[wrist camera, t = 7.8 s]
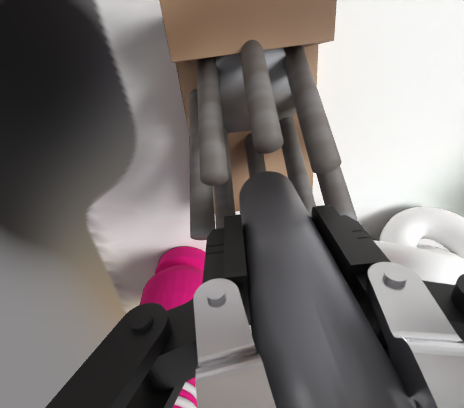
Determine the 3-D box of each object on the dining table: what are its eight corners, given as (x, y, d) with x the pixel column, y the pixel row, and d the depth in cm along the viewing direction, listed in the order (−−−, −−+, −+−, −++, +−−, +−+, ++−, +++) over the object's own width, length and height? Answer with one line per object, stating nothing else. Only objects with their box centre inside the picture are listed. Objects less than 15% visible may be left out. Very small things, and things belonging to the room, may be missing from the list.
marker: (234, 173, 13) (267, 644, 2) (297, 165, 13) (620, 629, 2) (240, 225, 14) (277, 653, 4) (296, 219, 14) (489, 644, 4)
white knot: (433, 164, 23) (544, 218, 15) (463, 250, 27) (559, 324, 20) (318, 228, 26) (359, 300, 18) (363, 294, 30) (411, 375, 23)
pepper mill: (190, 230, 25) (110, 601, 8) (233, 272, 28) (246, 614, 11) (139, 264, 27) (-15, 620, 10) (184, 300, 30) (127, 627, 13)
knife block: (172, 12, 17) (95, -61, 7) (308, -7, 17) (430, -113, 7) (208, 207, 24) (196, 308, 14) (303, 197, 24) (359, 292, 14)
